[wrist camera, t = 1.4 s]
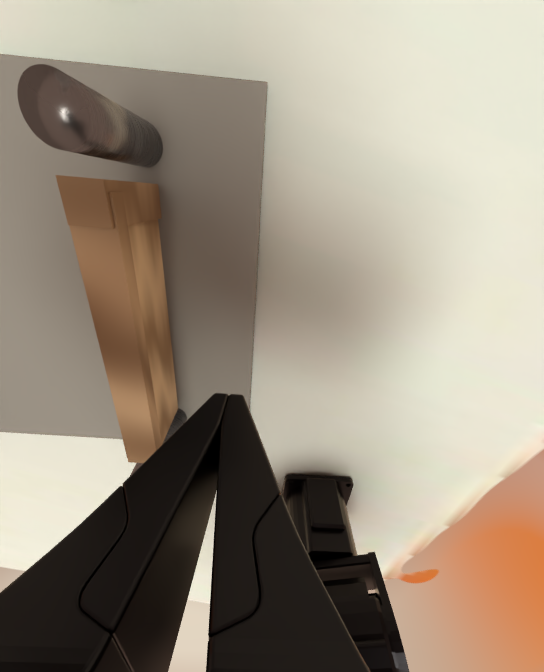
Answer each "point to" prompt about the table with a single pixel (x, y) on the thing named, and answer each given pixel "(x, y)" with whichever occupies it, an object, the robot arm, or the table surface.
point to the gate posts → (87, 131)
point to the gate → (126, 301)
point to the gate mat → (175, 236)
